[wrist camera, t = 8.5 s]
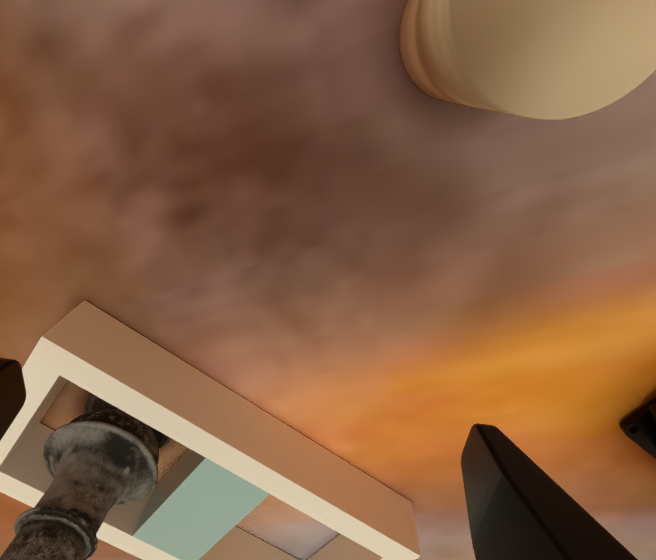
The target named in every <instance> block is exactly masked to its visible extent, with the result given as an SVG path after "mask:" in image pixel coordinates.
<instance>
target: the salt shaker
mask: <svg viewBox="0 0 656 560" xmlns="http://www.w3.org/2000/svg"><path fill="white" fill-rule="evenodd" d="M85 412H86V413H85V414H83V415H81V416H79V417H77V418H75V419H74V420H72V421H71V422H70V423H69V424H66V425H63V426H61V427H59V428H58V429H57V430H55V431H54V432H53V433H52V434H50V436H49V437H48V439H47V441H46V443H45V445H44V452H43V457H44V461H45V465H46V468H47V469H48V471H49V473H50V474H51V476H52V478H53V481H52V483H51V485H50V487H49V488H48V489H47V491H46V492H45V493H44V495H43V496H42V498H41V499H40V500H39V502H38V503H37V504H36V506H35V507H34V508H32V509H29V510H26V511H24V512H23V513H22V514H21V515H19V517H18V518H17V520H16V522H15V526H14V531H15V534H16V536H15V538H14V539H13V541H12V542H11V543H10V545H9V546H8V548H7V549H6V550H5V552H4V553H3V554H2V556H1V557H0V560H86V559H88V558H89V557H91V556H92V555H93V553H94V552H95V550H96V548H97V543H98V541H97V536H96V534H97V532H98V530H99V528H100V527H101V525H102V523H103V521H104V519H105V517H106V516H107V514H108V512H109V510H110V509H111V508H112V507H113V506H114V505H124V504H129V503H132V502H135V501H138V500H140V499H142V498H143V497H145V496H146V495H148V494H149V493H150V492H151V490H152V489H153V488H154V486H155V485H156V481H157V477H158V467H157V464H158V460H159V449H158V448H161V447H162V446H164V445H165V444H166V443H168V442H169V440H170V439H171V438H170V437H168V436H166V435H165V434H163V433H161V432H159V431H158V430H156V429H154V428H152V427H150V426H149V425H147V424H145V423H143V422H142V421H140V420H138V419H136V418H134V417H133V416H131V415H129V414H127V413H126V412H124V411H122V410H120V409H119V408H117V407H115V406H113V405H111V404H110V403H108V402H106V401H104V400H103V399H101V398H99V397H97V396H95V395H94V394H91V395H90V397H89V398H88V400H87V402H86V409H85Z"/></svg>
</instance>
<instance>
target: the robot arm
mask: <svg viewBox="0 0 656 560" xmlns="http://www.w3.org/2000/svg"><path fill="white" fill-rule="evenodd" d="M25 400H26V388H25V383H24V378H23V372H22V367H21V364H20V363H19V362H18V361H16V360H13V359H6V358H0V441H1V439H2V438H3V436H4V435H5V433H6V432H7V430H8V429H9V427H10V425H11V424H12V422H13V421H14V419H15V418H16V416H17V415H18V413H19V412H20V410H21V409H22V407H23V405H24V403H25ZM620 428H621V429H622V430H623V432H624V433H625V434H626V435H627V436H628V437H629V438H631V439H632V440H633V441H634V442H636V443H637V444H638V445H639V446H641V447H642V448H643V449H644V450H646V451H647V452H648V453H649V454H651V455H652V456H653V457H654V458H656V399H654V400H653V401H651V402H650V403H648V404H647V405H645V406H644V407H643V408H641V409H640V410H638V411H637V412H635V413H634V414H632V415H631V416H629V417H628V418H627V419H625V420H624V421H623V422H622V423H621V425H620ZM461 467H462V474H463V481H464V489H465V496H466V503H467V511H468V518H469V525H470V532H471V538H472V544H473V548H474V553H475V557H476V560H638V559H636V558H635V557H634V556H633V555H632V554H631V553H630V552H629V551H628V550H627V549H626V548H625V547H624V546H623V545H622V544H620V543H619V542H618V541H617V540H616V539H615V538H614V537H613V536H612V535H611V534H610V533H609V532H608V531H607V530H606V529H605V528H603V527H602V526H601V525H600V524H599V523H598V522H597V521H596V520H595V519H594V518H593V517H592V516H591V515H590V514H589V513H587V512H586V511H585V510H584V509H583V508H582V507H581V506H580V505H579V504H578V503H577V502H576V501H575V500H574V499H573V498H572V497H570V496H569V495H568V494H567V493H566V492H565V491H564V490H563V489H562V488H561V487H560V486H559V485H558V484H557V483H556V482H554V481H553V480H552V479H551V478H550V477H549V476H548V475H547V474H546V473H545V472H544V471H543V470H542V469H541V468H540V467H539V466H537V465H536V464H535V463H534V462H533V461H532V460H531V459H530V458H529V457H528V456H527V455H526V454H525V453H524V452H523V451H521V450H520V449H519V448H518V447H517V446H516V445H515V444H514V443H513V442H512V441H511V440H510V439H509V438H508V437H507V436H505V435H504V434H503V433H502V432H501V431H500V430H499V429H498V428H497V427H495V426H492V425H486V424H478V423H477V424H474V425H473V426H472V428H471V430H470V433H469V435H468V438H467V441H466V444H465V446H464V449H463V452H462V456H461Z"/></svg>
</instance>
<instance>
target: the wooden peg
mask: <svg viewBox="0 0 656 560" xmlns="http://www.w3.org/2000/svg"><path fill="white" fill-rule="evenodd" d="M399 49H400V55H401V59H402V62H403V65H404V68H405V70H406V72H407V74H408V76H409V77H410V78H411V80H412V81H413V83H414V84H415V85H416V86H417V87H418V88H419V89H420V90H422V91H423V92H424V93H425V94H427V95H429V96H430V97H432V98H435V99H437V100H441V101H445V102H450V103H455V104H460V105H465V106H471V107H476V108H481V109H487V110H492V111H497V112H502V113H508V114H513V115H518V116H523V117H529V118H534V119H545V120H555V119H566V118H572V117H578V116H581V115H584V114H588V113H591V112H594V111H596V110H598V109H601V108H603V107H605V106H608V105H610V104H611V103H613V102H615V101H616V100H618V99H620V98H622V97H623V96H625V95H626V94H628V93H629V92H630V91H632V90H633V89H634V88H636V87H637V86H638V85H640V84H641V83H642V82H643V81H644V80H645V79H646V78H647V77H649V76H650V75H651V74H652V73H653V72H654V71H655V70H656V0H408V1H407V3H406V5H405V8H404V11H403V14H402V18H401V22H400V28H399Z"/></svg>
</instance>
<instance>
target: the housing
mask: <svg viewBox="0 0 656 560" xmlns="http://www.w3.org/2000/svg"><path fill="white" fill-rule="evenodd" d="M22 372H23V378H24V383H25V388H26V400H25V403H24V405H23V407H22V409H21V410H20V412H19V413H18V415H17V416H16V418H15V419H14V421H13V422H12V424H11V425H10V427H9V429H8V430H7V432H6V433H5V435H4V436H3V438H2V439H1V441H0V492H2V493H4V494H6V495H8V496H10V497H12V498H14V499H17V500H19V501H21V502H23V503H25V504H27V505H29V506H31V507H33V508H34V507H35V506H36V504H37V503H38V502H39V500H40V499H41V498H42V496H43V495H44V493H45V492H46V491H47V489H48V488H49V487H50V485H51V483H52V481H53V478H52V476H51V474H50V473H49V471H48V469H47V468H46V465H45V461H44V457H43V452H44V445H45V443H46V441H47V439H48V437H49V436H50V434H52V433H53V432H54V431H55V430H53V429H51V428H49V427H47V426H45V425H43V424H41V423H40V421H41V420H42V418H43V417H44V415H45V414H46V412H47V411H48V409H49V408H50V406H51V405H52V403H53V402H54V400H55V399H56V397H57V396H58V394H59V393H60V391H61V390H62V388H63V387H64V385H65V384H66V382H67V381H68V380H69V381H71V382H72V383H74V384H76V385H78V386H79V387H81V388H83V389H85V390H87V391H88V392H90V393H92V394H94V395H95V396H97V397H99V398H101V399H103V400H104V401H106V402H108V403H110V404H111V405H113V406H115V407H117V408H119V409H120V410H122V411H124V412H126V413H127V414H129V415H131V416H133V417H134V418H136V419H138V420H140V421H142V422H143V423H145V424H147V425H149V426H150V427H152V428H154V429H156V430H158V431H159V432H161V433H163V434H165V435H166V436H168V437H170V438H172V439H174V440H175V441H177V442H179V443H181V444H182V445H184V446H186V447H188V448H189V449H188V450H187V451H186V452H185V453H184V454H183V455H182V456H181V457H180V458H179V460H178V461H177V462H176V463H175V464H174V465H173V466H172V467H171V468H170V470H169V471H168V472H167V473H166V474H165V475H164V476H163V477H162V478H161V480H160V481H159V482H158V483H157V484H156V485H155V486H154V488H153V489H152V490H151V492H150V493H149V494H148V495H146V496H145V497H143V498H142V499H140V500H138V501H135V502H132V503H129V504H124V505H114V506H113V507H112V508H111V509H110V510H109V512H108V514H107V516H106V517H105V519H104V521H103V523H102V525H101V527H100V528H99V530H98V532H97V534H96V536H97V538H98V539H100V540H102V541H105V542H107V543H109V544H111V545H113V546H115V547H117V548H119V549H121V550H123V551H126V552H128V553H130V554H132V555H134V556H136V557H138V558H140V559H142V560H298V559H297V558H295V557H293V556H291V555H289V554H287V553H285V552H283V551H281V550H280V549H278V548H276V547H274V546H272V545H270V544H268V543H266V542H264V541H263V540H261V539H259V538H257V537H255V536H253V535H251V534H249V533H247V532H246V531H244V530H242V529H240V528H238V527H236V525H237V524H238V523H239V522H240V521H241V520H242V519H243V518H244V517H245V516H246V515H247V514H249V513H250V512H251V511H252V510H253V509H254V508H255V507H256V506H257V505H258V504H259V503H260V502H262V501H263V500H264V499H265V498H266V497H267V496H268V495H269V494H271V495H273V496H275V497H276V498H278V499H280V500H282V501H284V502H285V503H287V504H289V505H291V506H292V507H294V508H296V509H298V510H300V511H301V512H303V513H305V514H307V515H308V516H310V517H312V518H314V519H315V520H317V521H319V522H321V523H323V524H324V525H326V526H328V527H330V528H331V529H333V530H335V531H337V532H339V533H340V534H339V535H338V536H337V537H336V538H334V539H333V540H332V541H330V542H329V543H328V544H327V545H325V546H324V547H323V548H322V549H320V550H319V551H318V552H317V553H315V554H314V555H313V556H311V557H310V558H309V559H308V560H416V559H417V558H418V557H420V550H419V544H418V538H417V532H416V526H415V520H414V514H413V508H412V502H411V501H409V500H408V499H406V498H404V497H403V496H401V495H400V494H398V493H396V492H395V491H393V490H392V489H390V488H388V487H387V486H385V485H383V484H382V483H380V482H379V481H377V480H375V479H374V478H372V477H370V476H369V475H367V474H366V473H364V472H362V471H361V470H359V469H358V468H356V467H354V466H353V465H351V464H349V463H348V462H346V461H345V460H343V459H341V458H340V457H338V456H336V455H335V454H333V453H332V452H330V451H328V450H327V449H325V448H324V447H322V446H320V445H319V444H317V443H315V442H314V441H312V440H311V439H309V438H307V437H306V436H304V435H302V434H301V433H299V432H298V431H296V430H294V429H293V428H291V427H289V426H288V425H286V424H285V423H283V422H281V421H280V420H278V419H277V418H275V417H273V416H272V415H270V414H268V413H267V412H265V411H264V410H262V409H260V408H259V407H257V406H255V405H254V404H252V403H251V402H249V401H247V400H246V399H244V398H243V397H241V396H239V395H238V394H236V393H234V392H233V391H231V390H230V389H228V388H226V387H225V386H223V385H221V384H220V383H218V382H217V381H215V380H213V379H212V378H210V377H209V376H207V375H205V374H204V373H202V372H200V371H199V370H197V369H196V368H194V367H192V366H191V365H189V364H187V363H186V362H184V361H183V360H181V359H179V358H178V357H176V356H175V355H173V354H171V353H170V352H168V351H166V350H165V349H163V348H162V347H160V346H158V345H157V344H155V343H153V342H152V341H150V340H149V339H147V338H145V337H144V336H142V335H141V334H139V333H137V332H136V331H134V330H132V329H131V328H129V327H128V326H126V325H124V324H123V323H121V322H119V321H118V320H116V319H115V318H113V317H111V316H110V315H108V314H107V313H105V312H103V311H102V310H100V309H98V308H97V307H95V306H94V305H92V304H90V303H89V302H87V301H85V300H84V301H83V302H82V303H80V304H79V305H78V306H77V307H76V308H75V309H73V310H72V311H71V312H70V313H69V314H67V315H66V316H65V317H64V318H63V319H62V320H60V321H59V322H58V323H57V324H56V325H54V326H53V327H52V328H51V329H50V330H49V331H47V332H46V333H45V334H44V335H43V336H42V337H41V338H40V340H39V342H38V343H37V345H36V347H35V348H34V350H33V352H32V353H31V355H30V357H29V358H28V360H27V362H26V363H25V365H24V367H23V368H22Z"/></svg>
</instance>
